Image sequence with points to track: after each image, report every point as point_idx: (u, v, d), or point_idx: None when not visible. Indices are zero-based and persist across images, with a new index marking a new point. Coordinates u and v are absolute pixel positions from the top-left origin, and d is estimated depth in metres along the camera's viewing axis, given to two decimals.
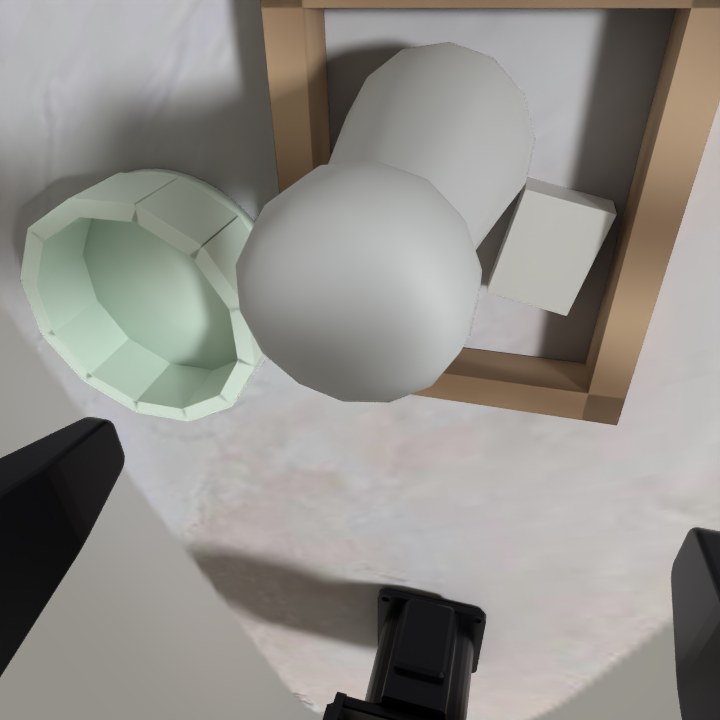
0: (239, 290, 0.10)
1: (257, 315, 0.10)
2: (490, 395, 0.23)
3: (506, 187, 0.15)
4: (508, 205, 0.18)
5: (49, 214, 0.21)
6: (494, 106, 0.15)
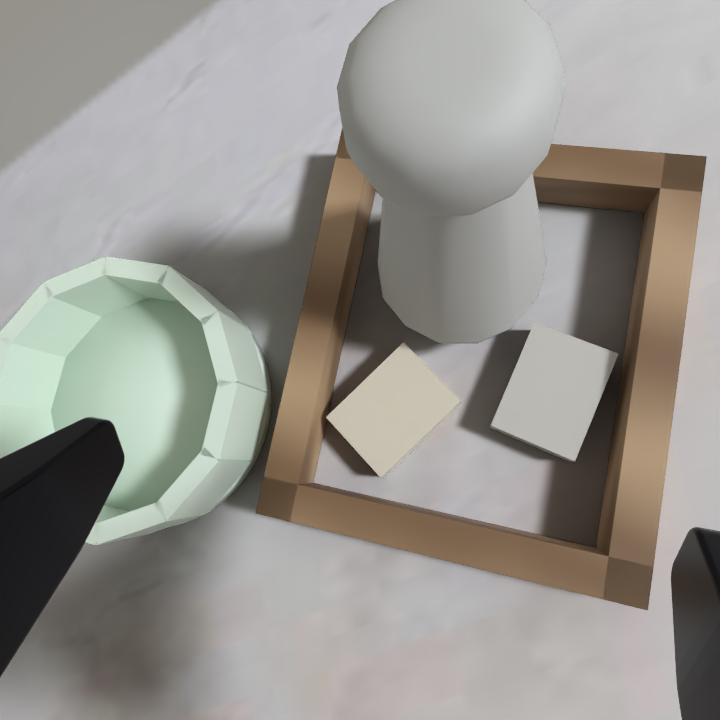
0: (346, 62, 0.11)
1: (363, 62, 0.11)
2: (490, 553, 0.19)
3: (536, 236, 0.17)
4: (524, 306, 0.19)
5: (75, 270, 0.22)
6: None
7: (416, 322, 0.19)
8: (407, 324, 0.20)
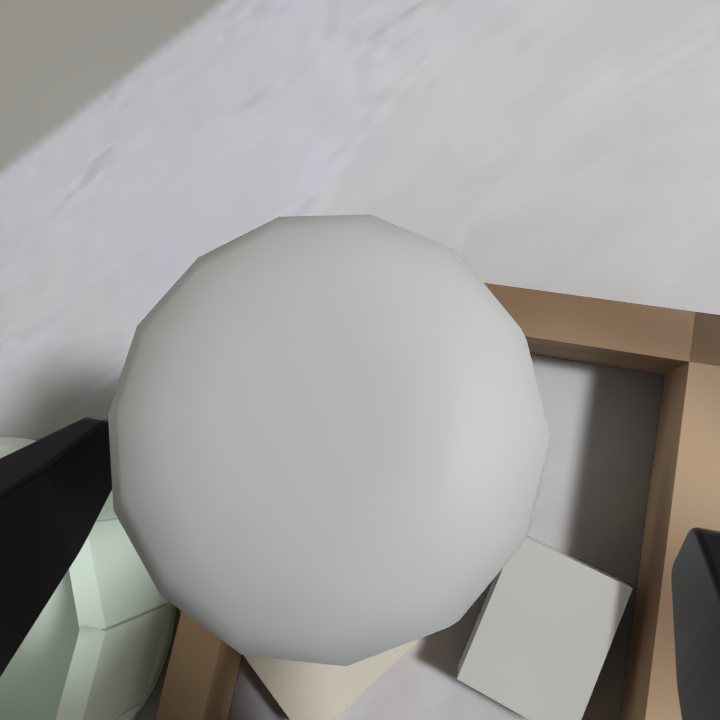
0: (125, 368, 0.06)
1: (139, 396, 0.05)
2: None
3: None
4: None
5: None
6: None
7: None
8: None
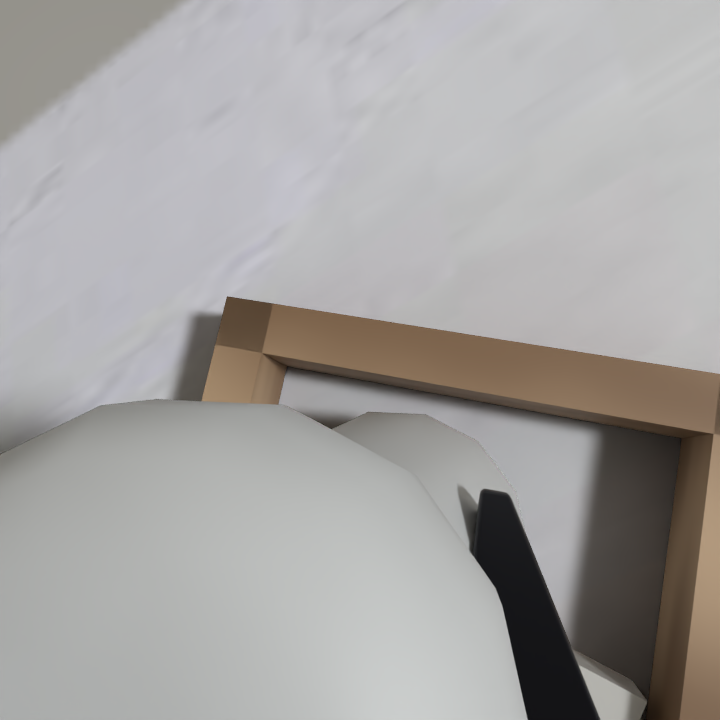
0: None
1: None
2: None
3: None
4: None
5: None
6: (486, 484, 0.10)
7: None
8: None
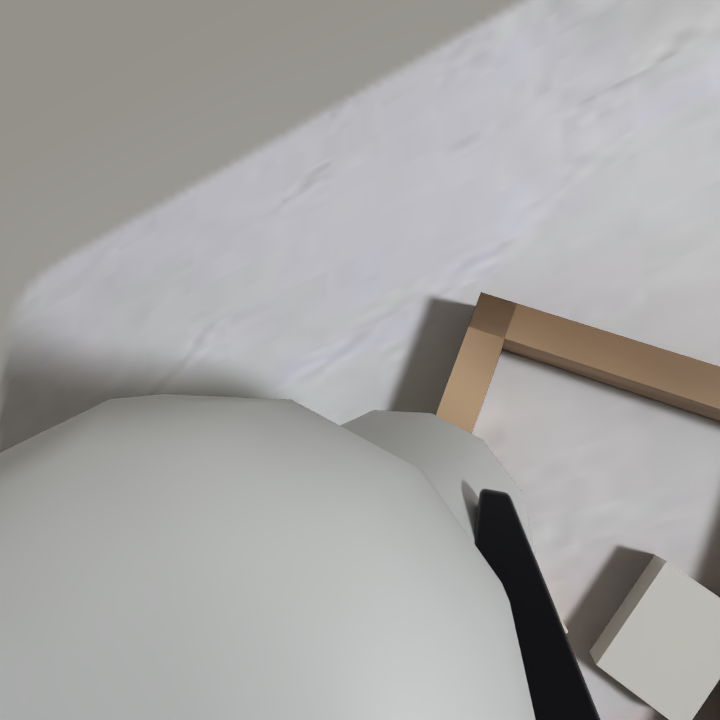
0: None
1: None
2: None
3: None
4: None
5: None
6: (492, 482, 0.10)
7: None
8: None
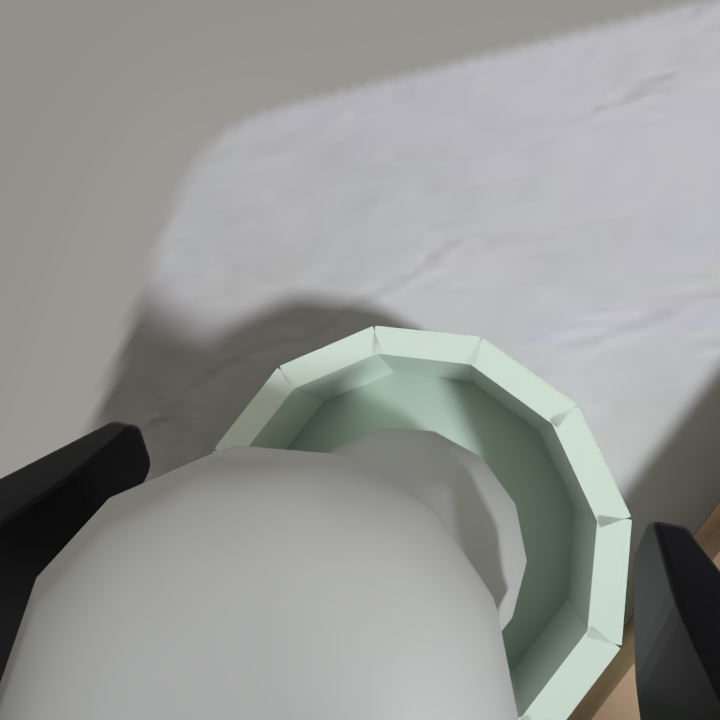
0: (17, 636, 0.05)
1: (22, 702, 0.04)
2: None
3: (501, 605, 0.10)
4: None
5: (427, 333, 0.14)
6: (488, 499, 0.12)
7: None
8: None
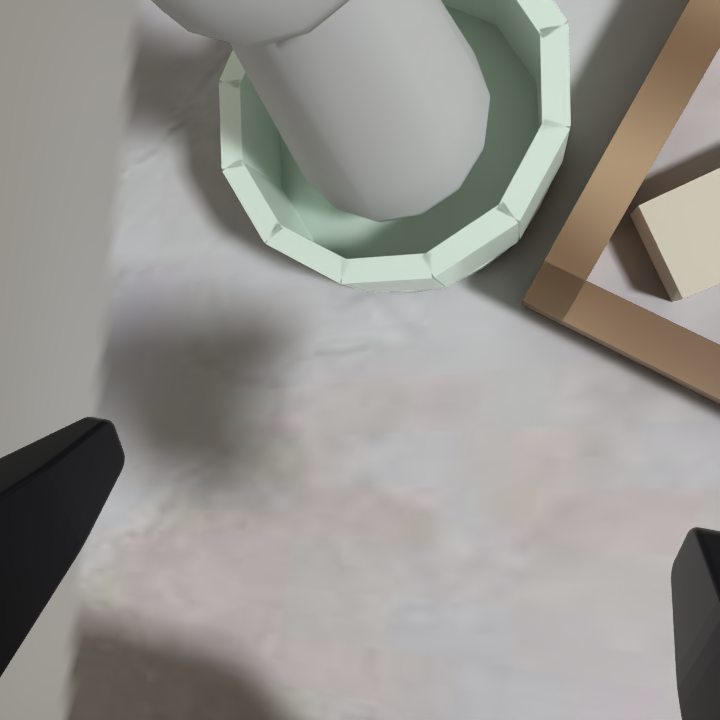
0: None
1: None
2: None
3: (456, 62, 0.13)
4: (466, 158, 0.16)
5: None
6: None
7: (342, 201, 0.16)
8: (336, 206, 0.17)
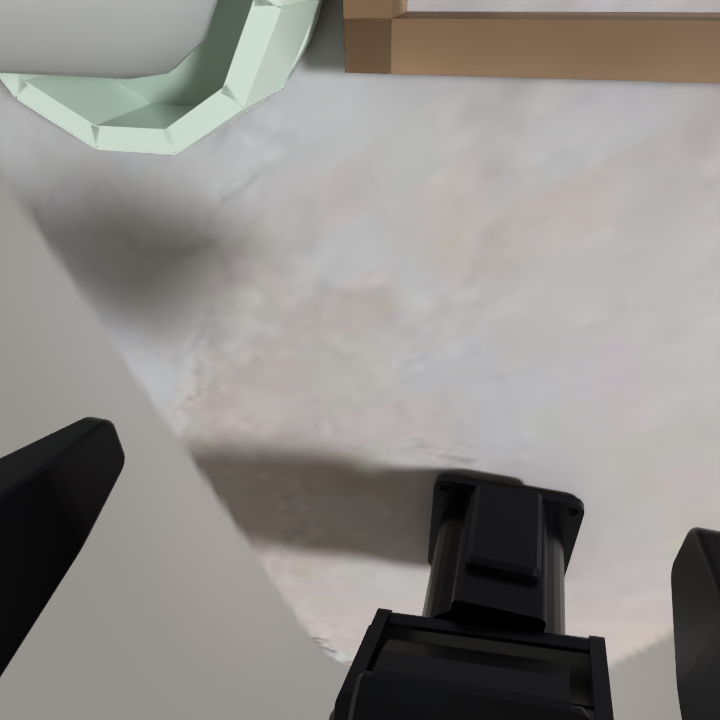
0: None
1: None
2: (670, 56, 0.14)
3: None
4: None
5: None
6: None
7: (124, 76, 0.16)
8: (126, 78, 0.16)
